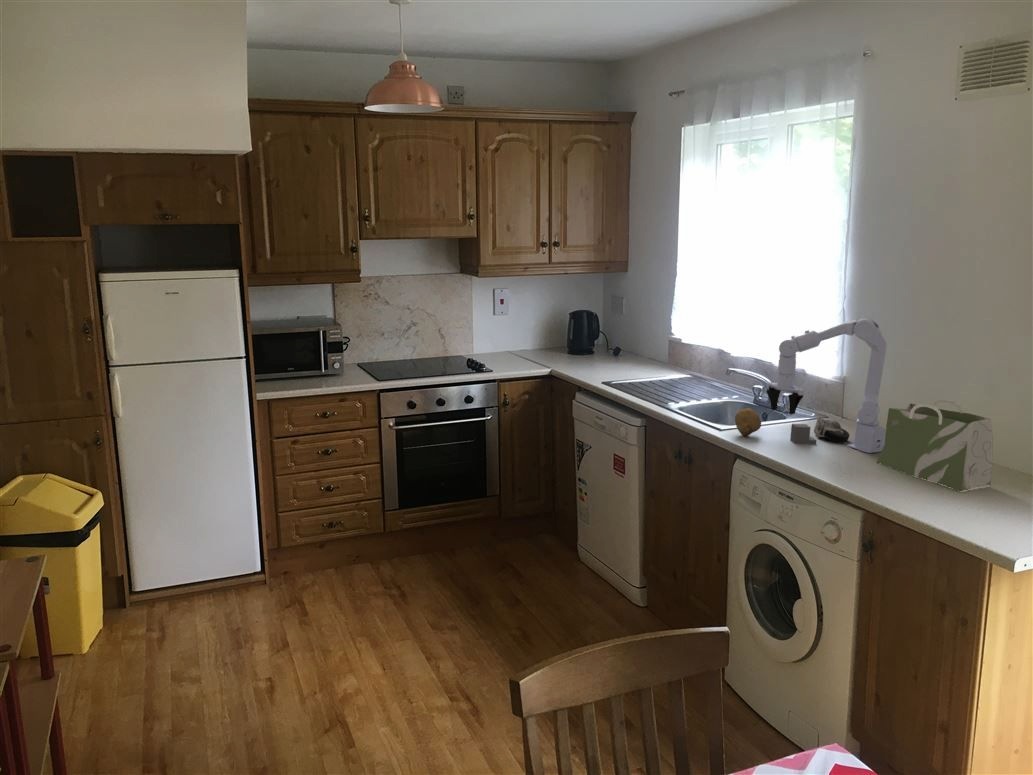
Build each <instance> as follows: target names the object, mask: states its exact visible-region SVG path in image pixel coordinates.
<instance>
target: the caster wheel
mask: <svg viewBox="0 0 1033 775" xmlns="http://www.w3.org/2000/svg"><path fill="white" fill-rule="evenodd" d="M813 433H814V434H815V436H816V438H817V440H819V439H820V436H821V437H824V438H826V439H827V440H829V441H830V442H834V443H837V444H845V442H846V443H847V442H848V441H849V439H850V433H849V432H848V431H847V430H846V429H844V428H842V427H841V424H840V423H839V422H838V421H836V420H833V419H827V418H822V417H821V415H820V414H818V418H817V420H816V422H815V425H814V429H813Z"/></svg>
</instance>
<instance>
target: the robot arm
mask: <svg viewBox="0 0 1033 775" xmlns="http://www.w3.org/2000/svg"><path fill="white" fill-rule="evenodd" d="M842 335H848V336H851V337H852V336H853V335H855V336H856V337H857V338H858V339H860V340H861V341H864V342H865V343H866V345H868V347H870V349H871V350H870V356H869V363H868V370H867V374H866V375H867V376H866V382H865V387H864V388H865V389H864V393H863V394H864V395H863V399H862V400H863V401H862V403H861V404H860V405H859V410H858V412H857V419H856V420H855V429H854V439H853V443H851V444H850V443H849V444H847V447H848V448H849V447H850V448H852V449H855V450H858V451H861V452H864V453H867V454H871V453H873V454H874V453H879V452H880V453H881V451H882V449H883V447H884V445H885V436H886V428H884V427H882V426H881V425H880V420H878V418H879V414H880V406H879V397H880V389H881V383H882V377H883V371H884V365H885V359H886V354H887V347H888V343H887V339H886V338H885V335H884V334H883V332H882V330H881V328H880V326H879V324H878V323H877V322H876V321H875V320H873V319H872V318H870V317H867V316H864V317H861V318H859V319H852V320H848V321H845V322H842V323H840V324H837V325H833V326H831V327H829V328H826V329H823V330H822V331H815V330H809V329H807V330H804V333H802V334H798V335H792V336H791V338H786V339H784V340H783V341H781V343H779V347H778V351H779V360H778V365H777V380H776V382H771V381H767V382H766V386H765V387H766V394H767V396H768V399H769V403H770V407H771V410H772V411H775V410H777V409H778V404H779V397H780V394H781V391H782V392H786V393H789V394H788V395H787V396H788V401H789V408H788V409H789V410H788V413H789V415H794V414H796V411H797V408H798V405H799V404H800V402H801V400H802V399H803V398H804V395H805V388H804V389H803V388H801V387H798V386H795V381H796V380H795V378H796V366H797V360H796V359H797V353H802V352H805V351H808V350H810V349H813V348H816V347H819V346H820V344H821V342H822V341H825V340H829V339H832V338H836V337H839V336H842Z"/></svg>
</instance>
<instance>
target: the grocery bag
mask: <svg viewBox="0 0 1033 775" xmlns="http://www.w3.org/2000/svg"><path fill="white" fill-rule="evenodd" d="M940 403H948V404H952V405H954V406H956V407H957V408H958V409H959V411H954V410H947V409H942V408H938V407H937V405H938V404H940ZM992 426H993V425H992V419H991V418H989V417H984V416H980V415H978V414H977V415H976V414H972V413H968V412H967V413H966V412H965V410H964V408H963V407H962V406H961V404H959V403H958V402H957V401H955V400H948V399H943V398H940V399H937V400H935V401H934V402H933V404H931V405H930V404H925V403H918V404H916V403H909V404H908V406H907V407H906V408H894V407H889V408H888V413H887V418H886V426H885V427H886V428H885V431H886V436H885V445H884V447H883V449H882V451H881V452H880V453H879V455H878V457H877V459H876V462H878V463H877V464H879V463H881V464H880V465H882V464H883V465H882V466H885V465H886V466H885V467H887V466H889V467H888V468H890V467H892V468H891V469H893V468H894V469H893V470H896V469H897V470H896V471H898V470H899V471H898V472H901V471H902V472H901V473H903V472H905V473H907V474H906V475H908V474H910V475H913V476H916V477H919V478H923V479H926V480H930V481H933V482H937V483H940V484H943V485H946V486H948V487H951V488H953V489H956V490H959V491H963V490H968V489H971V488H975V487H981V486H987V485H990V486H991V484H992V483H991V482H992V470H993V455H994V454H993V449H994V448H993V446H994V437H993V428H992ZM905 473H904V474H905ZM910 475H909V476H910ZM913 476H912V477H913ZM916 477H915V478H916ZM919 478H918V479H919ZM926 480H925V481H926ZM948 487H947V488H948ZM953 489H952V490H953ZM956 490H955V491H956Z"/></svg>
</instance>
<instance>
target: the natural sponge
mask: <svg viewBox="0 0 1033 775" xmlns="http://www.w3.org/2000/svg"><path fill="white" fill-rule="evenodd" d="M734 422H735V426H736V428H737V431H738V432H739V434H740V435H741V436H743V435H744V436H743V437H748V436H750V435H751V434H753V433H755V432H757V431H759V430H760V429H761V427H762V421H761V419H760V416H759V414H758V412H756V411H755V409H752V408H750V407H748V408H743V409H740V410H739V411H737V412H736V413H735V415H734Z"/></svg>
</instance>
